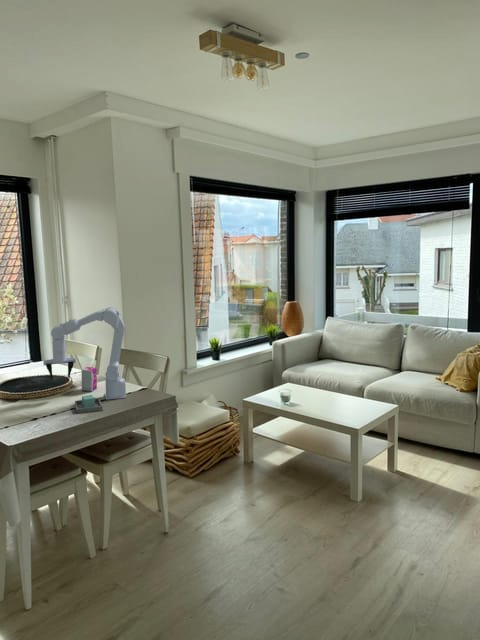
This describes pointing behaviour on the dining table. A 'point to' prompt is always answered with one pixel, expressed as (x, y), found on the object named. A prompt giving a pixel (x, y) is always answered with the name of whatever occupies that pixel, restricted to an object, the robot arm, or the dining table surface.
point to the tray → (89, 409)
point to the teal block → (88, 401)
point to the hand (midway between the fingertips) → (60, 378)
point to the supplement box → (89, 379)
